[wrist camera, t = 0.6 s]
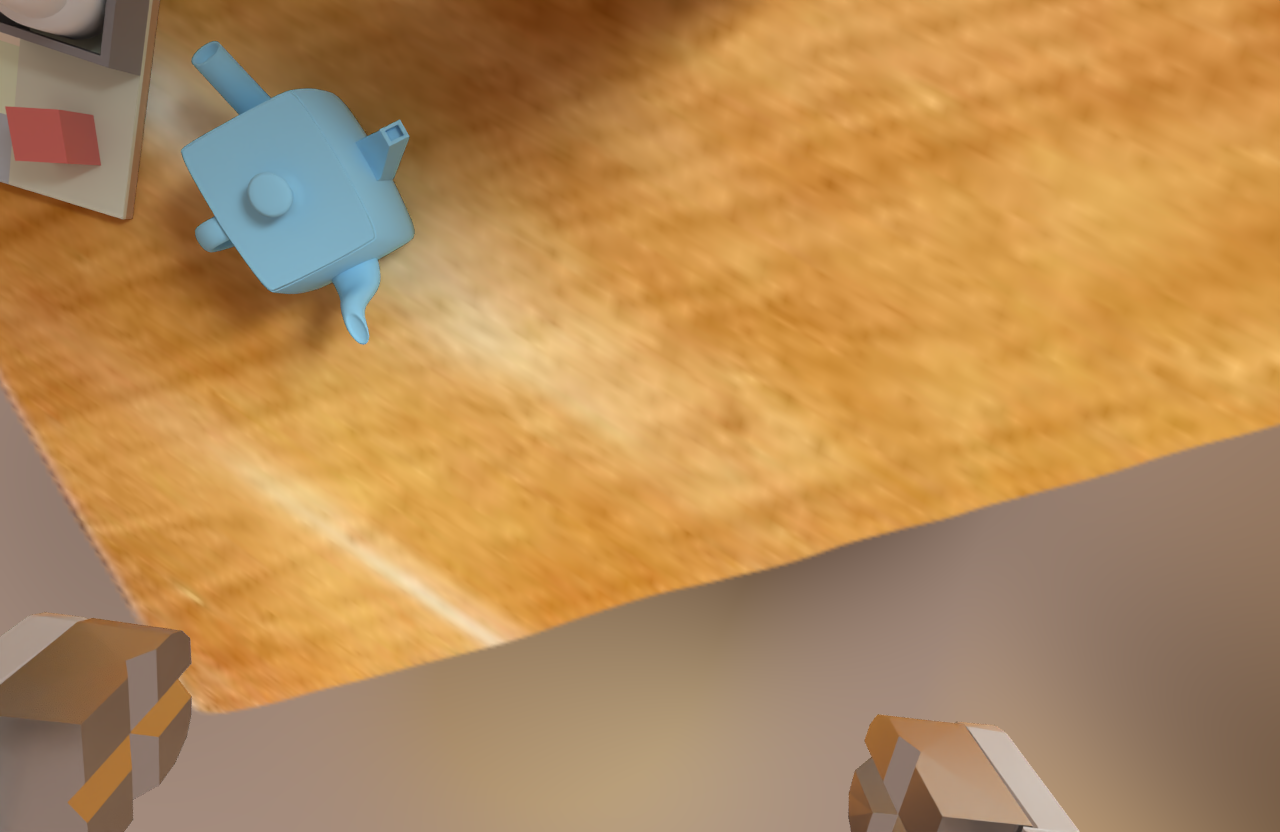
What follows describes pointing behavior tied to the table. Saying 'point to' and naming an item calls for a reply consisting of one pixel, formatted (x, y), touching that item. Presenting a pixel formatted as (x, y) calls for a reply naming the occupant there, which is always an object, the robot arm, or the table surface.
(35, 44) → the board
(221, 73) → the teapot
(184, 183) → the table surface
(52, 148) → the red cube
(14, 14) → the dome
